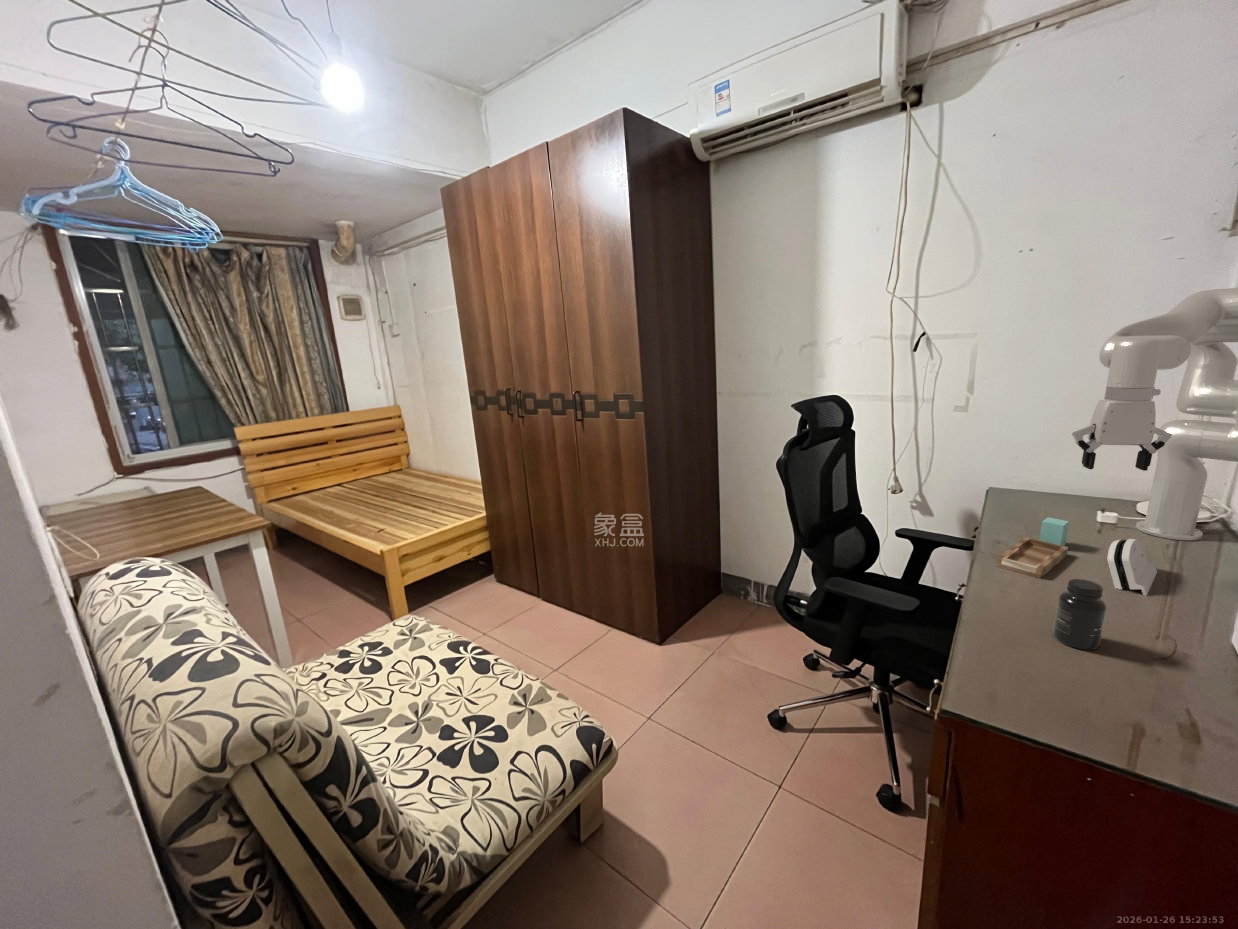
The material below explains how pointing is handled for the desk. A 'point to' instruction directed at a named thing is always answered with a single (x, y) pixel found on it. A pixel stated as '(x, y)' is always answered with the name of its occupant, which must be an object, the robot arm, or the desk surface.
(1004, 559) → the slot board
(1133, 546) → the white piece
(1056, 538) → the aqua rectangular block
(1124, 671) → the desk surface
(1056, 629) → the supplement bottle
